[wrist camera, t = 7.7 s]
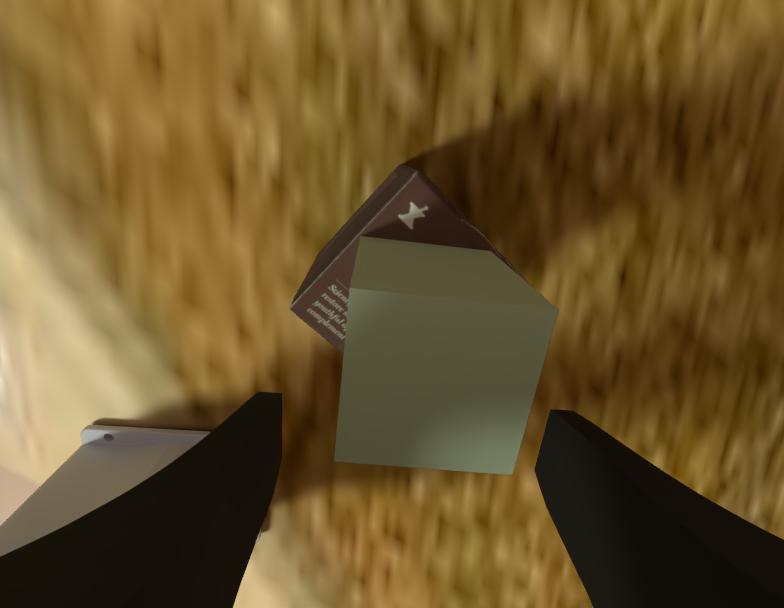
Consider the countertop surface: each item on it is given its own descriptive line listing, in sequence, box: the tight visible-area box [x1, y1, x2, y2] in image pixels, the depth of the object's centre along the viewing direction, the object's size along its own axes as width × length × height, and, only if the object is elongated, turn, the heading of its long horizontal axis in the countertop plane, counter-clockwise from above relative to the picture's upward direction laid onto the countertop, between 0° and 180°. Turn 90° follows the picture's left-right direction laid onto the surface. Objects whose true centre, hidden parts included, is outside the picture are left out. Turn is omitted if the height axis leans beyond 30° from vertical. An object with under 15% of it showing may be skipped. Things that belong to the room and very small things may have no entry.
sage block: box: [334, 236, 559, 475], centre depth 11 cm, size 4×4×5 cm
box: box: [290, 164, 531, 354], centre depth 16 cm, size 6×6×7 cm
